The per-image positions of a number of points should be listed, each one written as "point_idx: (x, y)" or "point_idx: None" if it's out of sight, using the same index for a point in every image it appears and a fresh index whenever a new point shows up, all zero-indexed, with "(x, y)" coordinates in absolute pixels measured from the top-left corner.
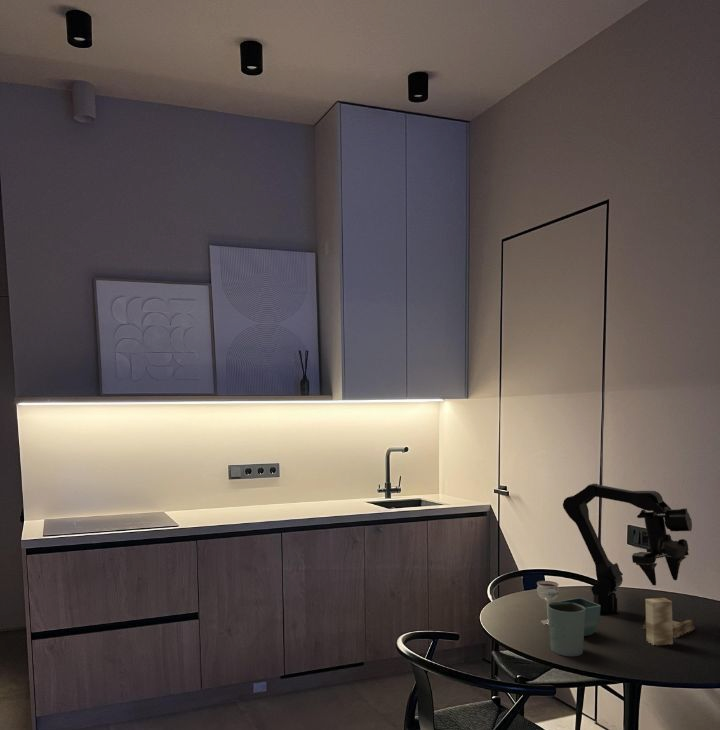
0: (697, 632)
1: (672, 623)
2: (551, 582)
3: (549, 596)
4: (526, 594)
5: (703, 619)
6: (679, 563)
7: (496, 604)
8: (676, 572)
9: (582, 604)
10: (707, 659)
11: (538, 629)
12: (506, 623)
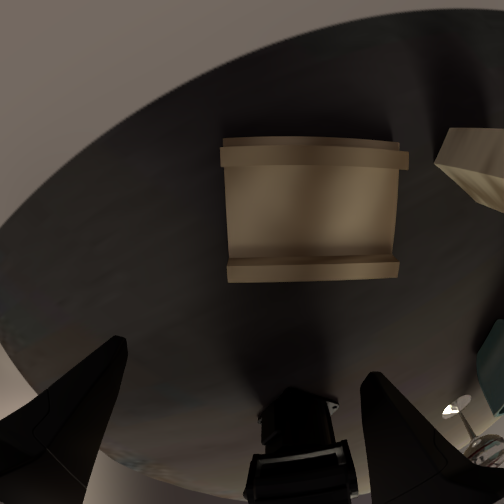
0: (253, 112)
1: (270, 216)
2: None
3: (500, 436)
4: None
5: (82, 189)
6: (9, 428)
7: None
8: (94, 382)
9: (495, 398)
10: (468, 21)
11: None
12: (484, 419)
